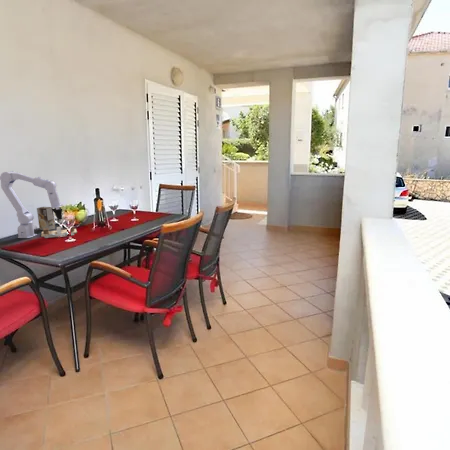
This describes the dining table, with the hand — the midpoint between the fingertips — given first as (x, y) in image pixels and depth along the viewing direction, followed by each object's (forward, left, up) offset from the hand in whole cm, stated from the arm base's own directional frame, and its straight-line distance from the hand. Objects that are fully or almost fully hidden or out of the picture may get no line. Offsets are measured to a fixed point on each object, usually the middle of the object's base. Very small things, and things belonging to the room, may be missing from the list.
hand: (59, 218), depth 230 cm
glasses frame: (-3, 0, -12) cm, 12 cm away
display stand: (+5, +4, -11) cm, 13 cm away
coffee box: (+16, +20, -12) cm, 28 cm away
